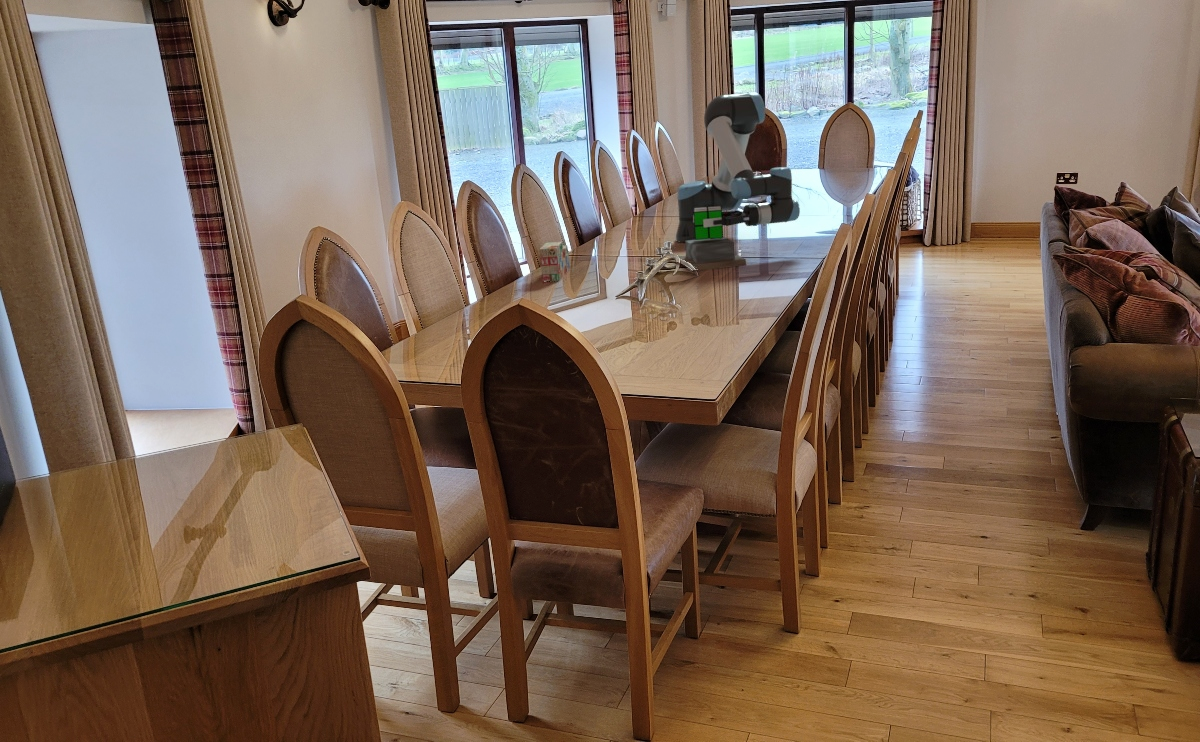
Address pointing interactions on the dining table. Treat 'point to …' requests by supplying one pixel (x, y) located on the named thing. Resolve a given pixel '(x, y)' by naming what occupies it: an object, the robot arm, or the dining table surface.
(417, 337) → the dining table surface
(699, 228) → the puzzle cube
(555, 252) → the stack of blocks
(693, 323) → the dining table surface
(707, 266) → the tower base
